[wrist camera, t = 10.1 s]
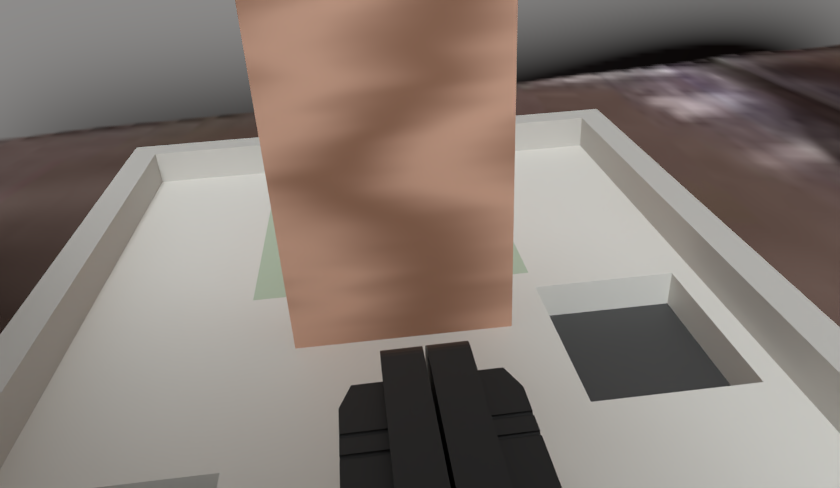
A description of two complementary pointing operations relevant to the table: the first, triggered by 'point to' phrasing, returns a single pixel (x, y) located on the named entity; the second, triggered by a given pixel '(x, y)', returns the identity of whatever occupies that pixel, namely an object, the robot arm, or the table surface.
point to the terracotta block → (387, 161)
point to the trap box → (360, 361)
